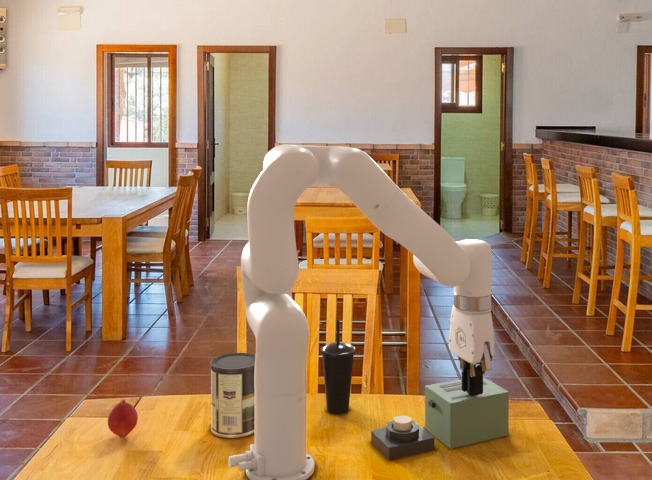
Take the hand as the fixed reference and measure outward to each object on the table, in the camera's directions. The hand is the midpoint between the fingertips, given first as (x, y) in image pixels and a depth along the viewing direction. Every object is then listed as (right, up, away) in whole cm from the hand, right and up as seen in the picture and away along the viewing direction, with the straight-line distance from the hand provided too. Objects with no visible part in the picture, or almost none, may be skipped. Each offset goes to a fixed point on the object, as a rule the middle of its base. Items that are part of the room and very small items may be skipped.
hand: (472, 391), depth 143 cm
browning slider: (0, 0, 0) cm, 0 cm away
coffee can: (-49, -10, +5) cm, 50 cm away
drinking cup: (-28, -10, +14) cm, 32 cm away
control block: (-14, -10, -3) cm, 18 cm away
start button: (-14, -6, -3) cm, 16 cm away
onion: (-71, -10, 0) cm, 72 cm away
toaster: (-1, -10, +3) cm, 10 cm away
